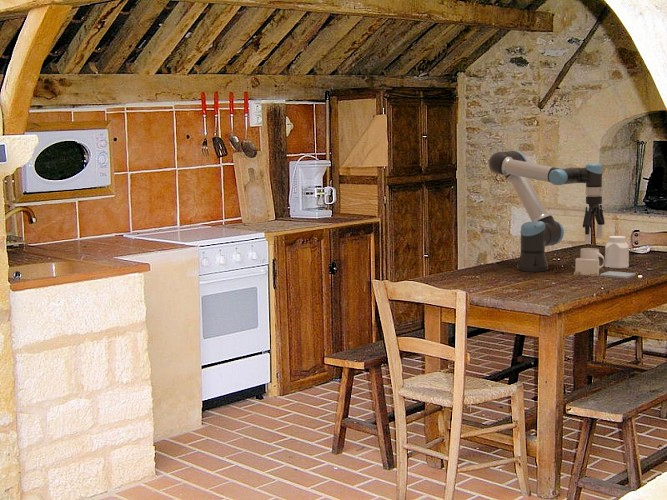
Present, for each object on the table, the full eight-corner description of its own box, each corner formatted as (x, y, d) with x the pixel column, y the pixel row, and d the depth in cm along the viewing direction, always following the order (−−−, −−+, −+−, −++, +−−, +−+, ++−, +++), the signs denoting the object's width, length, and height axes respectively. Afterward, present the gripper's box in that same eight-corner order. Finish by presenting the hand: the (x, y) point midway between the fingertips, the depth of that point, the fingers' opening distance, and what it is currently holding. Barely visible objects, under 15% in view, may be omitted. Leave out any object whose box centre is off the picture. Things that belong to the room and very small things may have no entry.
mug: (600, 273, 452) (600, 251, 450) (577, 271, 460) (577, 249, 458) (608, 271, 458) (608, 249, 457) (585, 269, 466) (585, 247, 465)
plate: (599, 276, 444) (599, 274, 444) (609, 273, 452) (609, 271, 452) (626, 278, 436) (626, 276, 435) (635, 275, 444) (635, 273, 444)
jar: (602, 267, 471) (602, 237, 469) (608, 264, 479) (609, 235, 477) (625, 268, 465) (625, 238, 463) (631, 266, 472) (631, 236, 471)
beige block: (572, 275, 448) (572, 259, 447) (577, 273, 452) (577, 258, 451) (594, 277, 442) (594, 261, 441) (599, 275, 445) (599, 259, 444)
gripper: (590, 197, 442) (590, 242, 445) (611, 194, 461) (611, 237, 464) (575, 197, 447) (575, 242, 449) (597, 193, 466) (596, 236, 469)
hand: (593, 239), depth 457 cm, fingers open, 13 cm apart
